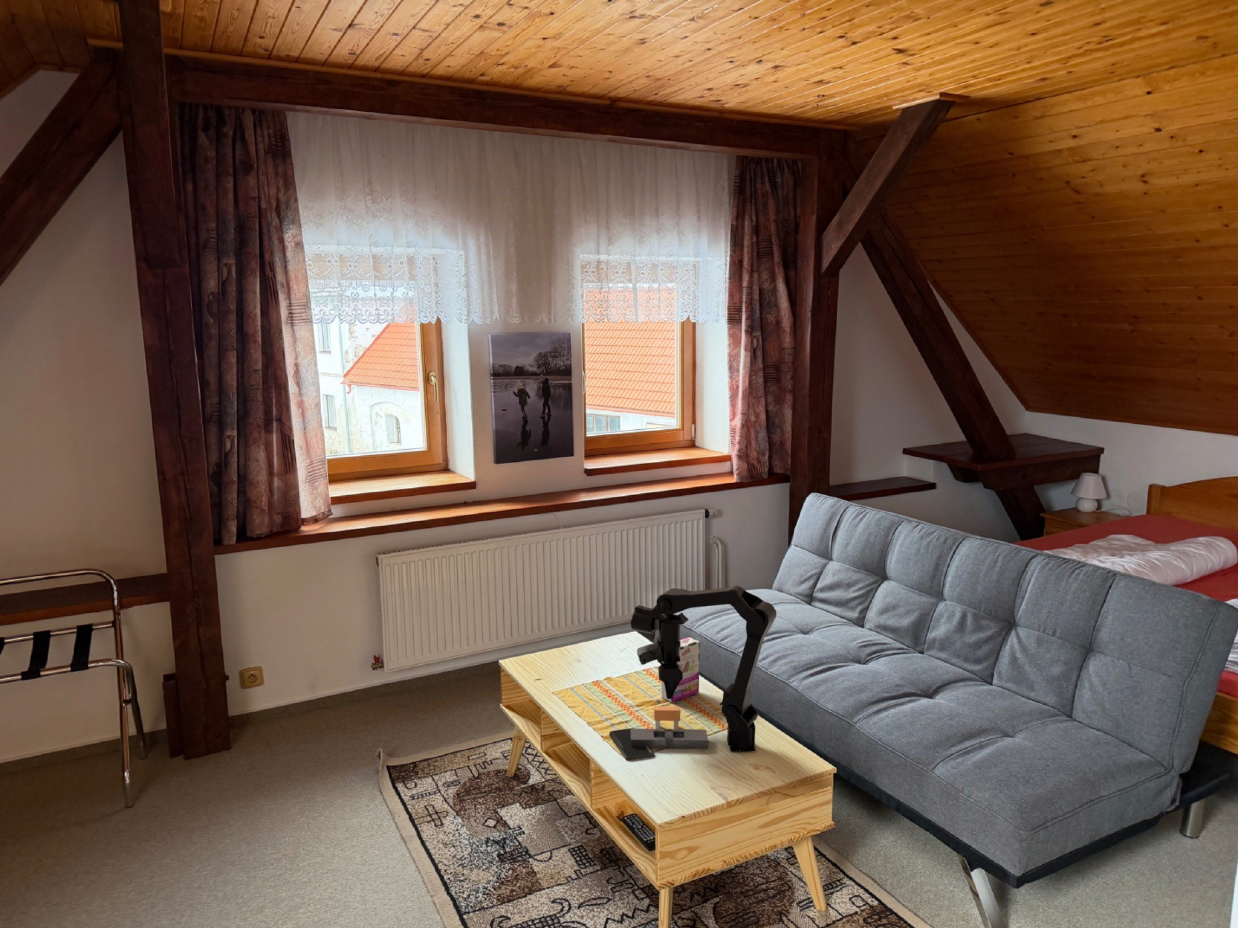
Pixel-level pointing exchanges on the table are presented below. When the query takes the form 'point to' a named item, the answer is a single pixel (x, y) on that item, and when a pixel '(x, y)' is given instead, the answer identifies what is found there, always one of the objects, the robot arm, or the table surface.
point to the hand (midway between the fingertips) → (667, 691)
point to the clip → (666, 715)
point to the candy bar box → (687, 671)
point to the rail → (669, 738)
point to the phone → (629, 745)
